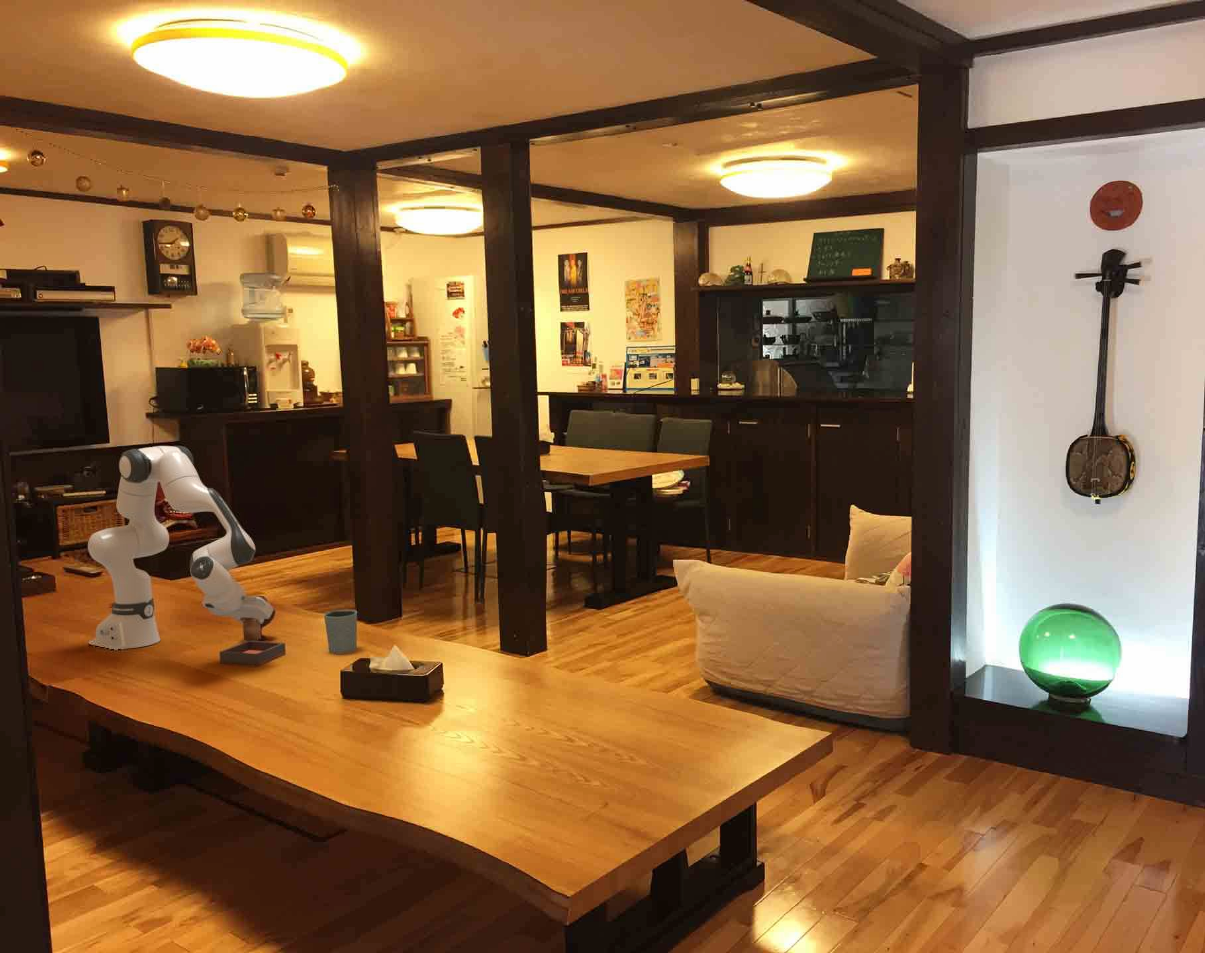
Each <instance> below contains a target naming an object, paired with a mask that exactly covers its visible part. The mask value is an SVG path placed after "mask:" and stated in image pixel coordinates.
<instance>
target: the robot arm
mask: <svg viewBox="0 0 1205 953" xmlns="http://www.w3.org/2000/svg"><path fill="white" fill-rule="evenodd" d="M194 463H195V462H194V457H193V454H192V453H191V451H190V450H189V448H187V447H186V446H182V445H172V446H170V445H155V446H152V447H151V446H149V447H142V448H132V449H128V450H126V451H123V452H122V454H121V456H120V457H119V460H118V471H119V473H120V480H119V484H118V485H119V486H118V491H117V492H118V493H117V498H116V505H115V506H116V509H117V512H118V513H119V515H121V516H122V517H123V518H126V519H127V520H129V522H128V524H127V525H122V526H114V527H108V528H104V529H102V530H99V531H96V532H94V533H92V534H91V535H90V537H89V539H88V541H87V550H88V553H89V556H90V557H91V558H92V559H93V560H94V561H96V562H97V563H99V564H101V565H102V566H103V567H104V568H105V569H106V570H107V572H108V573H109V576H110V577H111V581H112V586H113V593H114V602H113V603H110V604H109V607H108V609H111V611H110V612H111V613H110V614H109V615H108V616H107V617H106V618H104V619H103V620H102V621H101V622H100V623H99V624H97V626H96V629H95V638H93V639H91V640H89V641H88V643H89V644H92V645H97V646H100V647H105V648H104V649H106V648H109V649H108V650H111V649H114V650H113V651H119V650H118V649H121V650H126V649H133V648H134V649H135V648H142V647H146V646H152V645H154V644H157V643H159V642H160V641H161V638H160V633H159V631H158V626H157V623H156V622H157V621H156V616H155V614H154V612H155V602H154V598H153V591H152V579H151V576H150V575H149V573H148V572H147V571H145V570H142V569H140V568H137V567H136V565H135V563H134V559H139V558H144V557H149V556H150V557H151V556H154V555H156V554H158V553H162V552H164V551H165V550H166V549H167V547H168V546H169V542H170V535H169V534H170V533H169V531H168V529H167V528H166V527H165V526H164V525H163V523H160V522H159V521H158V519H157V516H156V514H155V504H156V495H157V490H158V483H159V484H160V487H161V490H162V492H163V495H164V497H165V499H166V501H167V503H168V504H169V506H170V507H171V508H172V509H174V510H175V511H178V512H181V513H189V514H192V513H194V514H195V513H200V512H201V513H202V512H203V513H204V512H211V513H214V515H215V516H216V518H218V521H219V522H220V523H221V525H222V527H223V528H224V530H225V531H226V534H225V535H224V536H223V537H221V538H218V539H217V540H215V541H212V542H210V543H208V544H206V545H204V546H202V547H200V548H198V549H196V550H194V551H193V552H192V554H191V557H190V560H189V571H190V576H191V578H192V580H193V581H194V582H195V584H196V586H198V589H200V590H201V591H202V592H203V593H204V597H203V599H202V602H201V605H202V606H203V607H205V608H206V609H207V610H208V611H209V613H211V614H212V615H214V616H217V617H231V618H233V619H235V620H237V621H238V622H240V623H243V620H242V617H244V618H256V622H257V623H261V624H262V623H263V621H264V619H269V618H270V616H271V614H272V612H273V609H274V607H273V606H272V605H271V604H270V603H269V602H266V601H265V600H264V599H262V598H261V597H256V596H257V595H255V596H254V595H247V592H246V589H245V588H244V587H243V586H242V585H241V584H240V583H239V582H238V581H237V580H236V579H235V578H232V576H231V574H230V572H229V571H231V570H232V569H235V568H236V567H239V566H242V565H245V564H248V563H250V562H252V560H253V558H254V556H255V554H256V551H257V549H256V546H255V543H254V541H253V539H252V537H250V535H249V534H248V533H247V532H246V531H245V529H244V527H242V525H241V524H240V522H239V521H238V519H237V518H236V515H234V513H233V511H232V510H231V509H230V506H228V504H227V503H226V501H225V500H224V499H223V497H222V495H221V494H220V493H219V492H218V491H216V490H215V489H214V488H213V487H207V486H205V484H204V483H203V482H202V480H201V479H200V476H199V474H198V471H197V469H196V468H195V466H194V465H195V464H194ZM100 647H99V648H100Z"/></svg>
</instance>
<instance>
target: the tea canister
mask: <svg viewBox="0 0 1205 953" xmlns="http://www.w3.org/2000/svg"><path fill="white" fill-rule="evenodd" d="M242 620H243V622H242V631H243V632H242V633H243V641H244V642H245V641H254V640H258V639H261V631H260V623H257V622H256V618H244V617H242Z"/></svg>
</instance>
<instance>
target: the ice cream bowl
mask: <svg viewBox="0 0 1205 953" xmlns="http://www.w3.org/2000/svg"><path fill="white" fill-rule="evenodd" d="M255 596H256V597H261V598H262V599H264V600H265V601H266V602H268V599H267V598H266V597H265V596H264V595H255ZM268 603H269V602H268ZM275 616H276V610H275V609H274V608H273V612H272V614H271V616H270V618H269V619H264V621H263V623H262V624H261V623H260V631H261V639H258V640H254V641H264V642H268V640H269V638H268V637H267V636H266V635H263V632H262V630H263V628H264V627H267V625H269V624H271V622H272V621H273V620H274V618H275Z"/></svg>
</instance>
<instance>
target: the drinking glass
mask: <svg viewBox="0 0 1205 953" xmlns="http://www.w3.org/2000/svg"><path fill="white" fill-rule="evenodd" d="M323 616H324V617H323V618H324V623H325V624H324V625H325V631H326V632H325V633H326V637H327V646H328V647H327V648H328V653H330V654H332V653H333V654H332V655H345V654H344V653H347V654H351V653H354V652H355V651H356V652H357V648H358V643H357V642H358V640H357V639H358V635H357V632H358V611H357V610H354V609H338V610H331V611H328V612H325V613H324V615H323Z"/></svg>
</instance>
